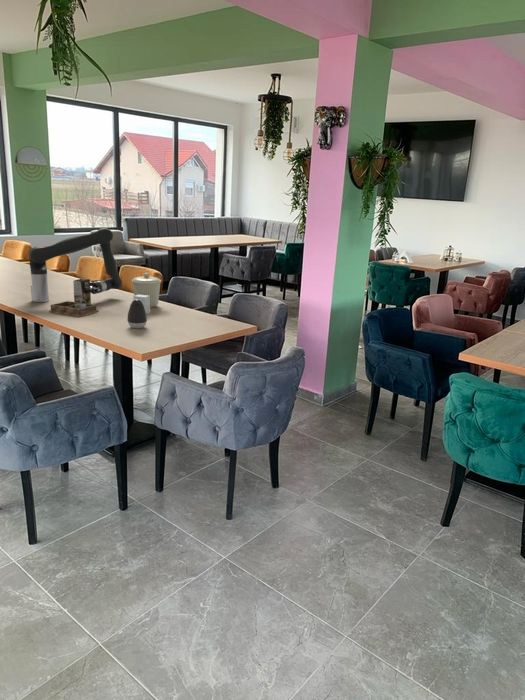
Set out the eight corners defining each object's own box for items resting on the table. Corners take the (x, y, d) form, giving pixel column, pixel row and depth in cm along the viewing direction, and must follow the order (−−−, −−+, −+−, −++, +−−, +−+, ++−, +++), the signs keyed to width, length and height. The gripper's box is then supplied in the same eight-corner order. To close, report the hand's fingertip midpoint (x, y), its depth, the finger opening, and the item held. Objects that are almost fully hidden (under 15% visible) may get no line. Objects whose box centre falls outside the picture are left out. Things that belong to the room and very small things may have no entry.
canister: (141, 310, 322) (140, 275, 316) (126, 305, 335) (126, 271, 329) (167, 307, 334) (167, 274, 328) (152, 302, 347) (151, 269, 340)
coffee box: (84, 307, 322) (82, 281, 317) (74, 307, 323) (72, 280, 318) (91, 304, 331) (90, 279, 326) (82, 304, 332) (80, 278, 327)
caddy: (49, 311, 308) (48, 303, 307) (68, 306, 322) (68, 298, 321) (79, 316, 300) (79, 308, 299) (98, 311, 315) (97, 303, 313)
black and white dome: (129, 330, 278) (128, 301, 274) (126, 325, 287) (125, 297, 283) (149, 329, 282) (148, 301, 278) (145, 324, 291) (144, 297, 287)
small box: (150, 313, 318) (150, 295, 315) (145, 314, 313) (145, 297, 310) (138, 311, 320) (138, 294, 317) (133, 313, 315) (133, 295, 312)
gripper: (88, 280, 338) (70, 283, 324) (106, 282, 333) (89, 286, 319) (88, 291, 340) (70, 295, 326) (107, 294, 335) (89, 298, 321)
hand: (79, 291), depth 322 cm, fingers closed on coffee box, 7 cm apart
